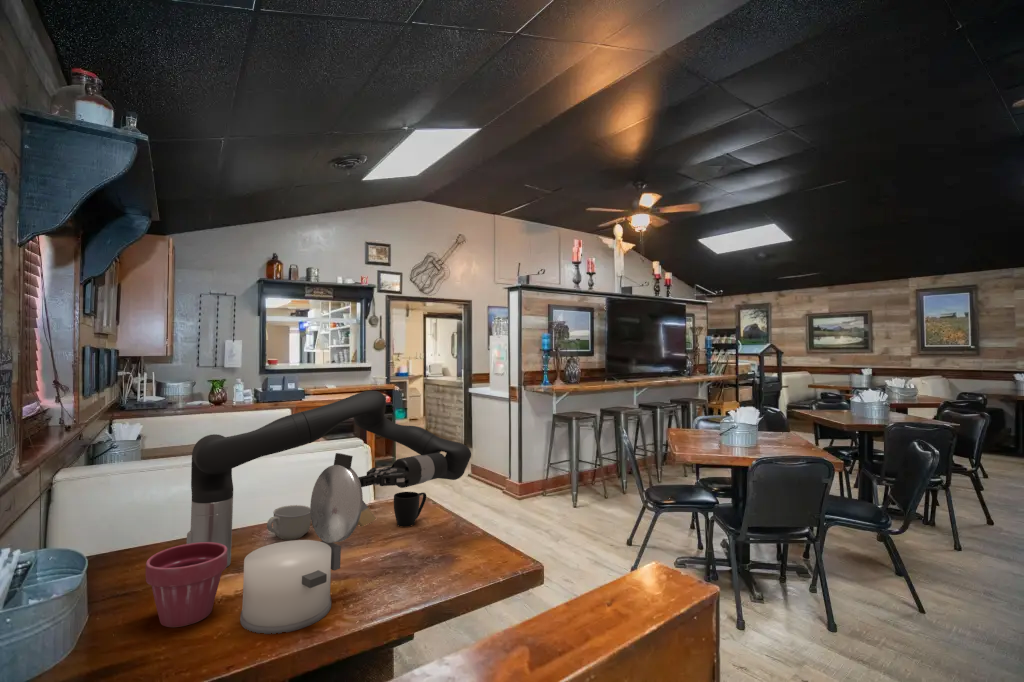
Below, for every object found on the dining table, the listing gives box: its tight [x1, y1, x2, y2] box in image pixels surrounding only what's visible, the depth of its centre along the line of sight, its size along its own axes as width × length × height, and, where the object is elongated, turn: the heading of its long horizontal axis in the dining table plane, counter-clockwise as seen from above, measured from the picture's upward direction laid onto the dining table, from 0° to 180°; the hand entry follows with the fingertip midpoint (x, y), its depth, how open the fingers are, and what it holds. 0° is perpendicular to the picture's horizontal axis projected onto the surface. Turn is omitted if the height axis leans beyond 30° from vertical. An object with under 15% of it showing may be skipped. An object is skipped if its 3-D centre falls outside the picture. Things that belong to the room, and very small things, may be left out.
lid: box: [309, 452, 364, 543], centre depth 117 cm, size 20×17×2 cm
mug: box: [393, 491, 427, 527], centre depth 166 cm, size 8×12×10 cm
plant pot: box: [145, 542, 228, 628], centre depth 105 cm, size 14×14×13 cm
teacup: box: [266, 504, 312, 541], centre depth 151 cm, size 14×11×8 cm
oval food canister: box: [239, 539, 342, 635], centre depth 109 cm, size 19×23×12 cm
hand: (358, 482), depth 122 cm, fingers closed
